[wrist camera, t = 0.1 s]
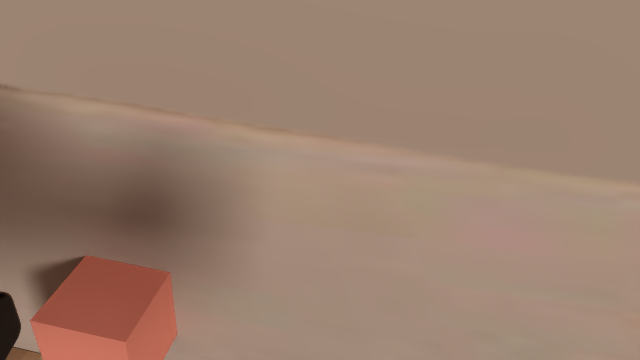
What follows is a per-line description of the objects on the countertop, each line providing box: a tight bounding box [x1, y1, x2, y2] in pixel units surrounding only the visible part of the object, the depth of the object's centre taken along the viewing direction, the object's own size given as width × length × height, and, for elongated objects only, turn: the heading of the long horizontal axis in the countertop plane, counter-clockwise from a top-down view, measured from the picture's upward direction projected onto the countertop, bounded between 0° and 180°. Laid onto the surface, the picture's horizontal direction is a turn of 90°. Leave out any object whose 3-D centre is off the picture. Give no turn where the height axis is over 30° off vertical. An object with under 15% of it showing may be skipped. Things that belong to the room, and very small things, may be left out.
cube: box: [30, 255, 177, 360], centre depth 30 cm, size 5×5×5 cm
